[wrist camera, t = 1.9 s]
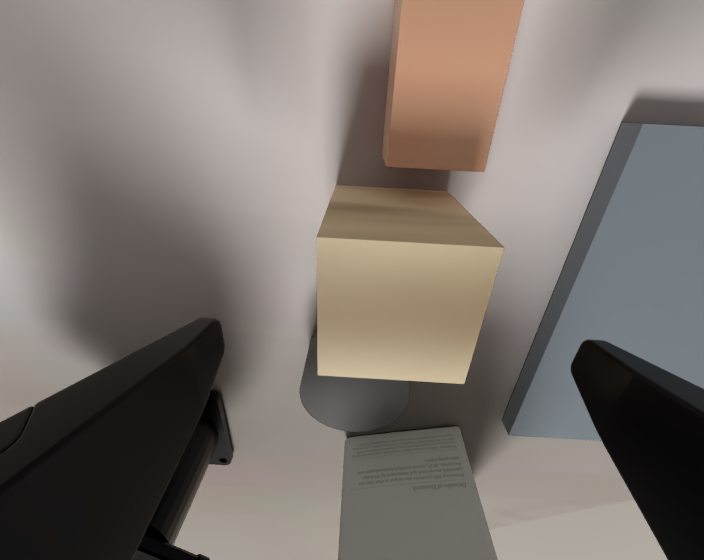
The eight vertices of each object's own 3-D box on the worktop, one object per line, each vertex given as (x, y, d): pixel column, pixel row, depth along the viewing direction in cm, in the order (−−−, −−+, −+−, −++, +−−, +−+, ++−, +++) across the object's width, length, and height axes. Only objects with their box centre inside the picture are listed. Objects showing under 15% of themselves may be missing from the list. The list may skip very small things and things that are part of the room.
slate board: (704, 432, 19) (720, 448, 18) (502, 420, 19) (508, 435, 18) (961, 140, 11) (1011, 142, 10) (621, 122, 11) (643, 123, 11)
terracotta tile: (458, 158, 12) (484, 171, 10) (381, 154, 12) (386, 166, 10) (491, -11, 10) (536, -53, 7) (396, -15, 10) (407, -59, 7)
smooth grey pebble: (397, 387, 18) (402, 434, 16) (310, 382, 18) (301, 428, 16) (408, 316, 16) (417, 357, 13) (308, 310, 16) (297, 350, 13)
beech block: (429, 287, 15) (464, 383, 10) (334, 281, 15) (317, 375, 10) (447, 190, 13) (504, 247, 8) (336, 184, 13) (316, 237, 8)
